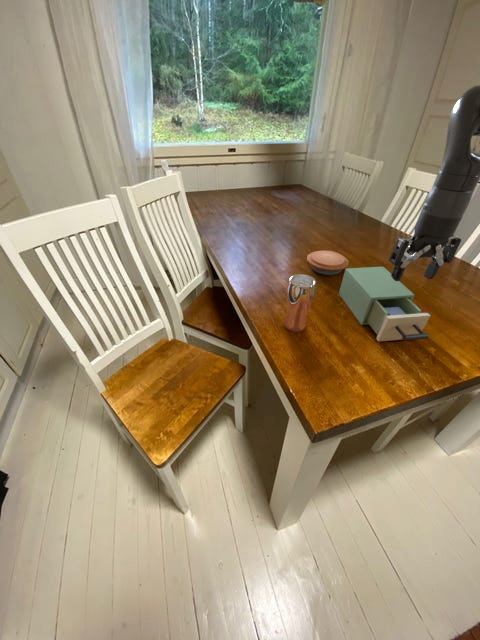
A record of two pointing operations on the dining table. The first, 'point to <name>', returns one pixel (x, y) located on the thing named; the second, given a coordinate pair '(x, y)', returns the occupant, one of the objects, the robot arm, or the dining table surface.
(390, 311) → the block
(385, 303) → the drawer
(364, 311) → the cabinet
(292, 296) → the metal cup
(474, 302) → the dining table surface
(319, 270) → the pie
